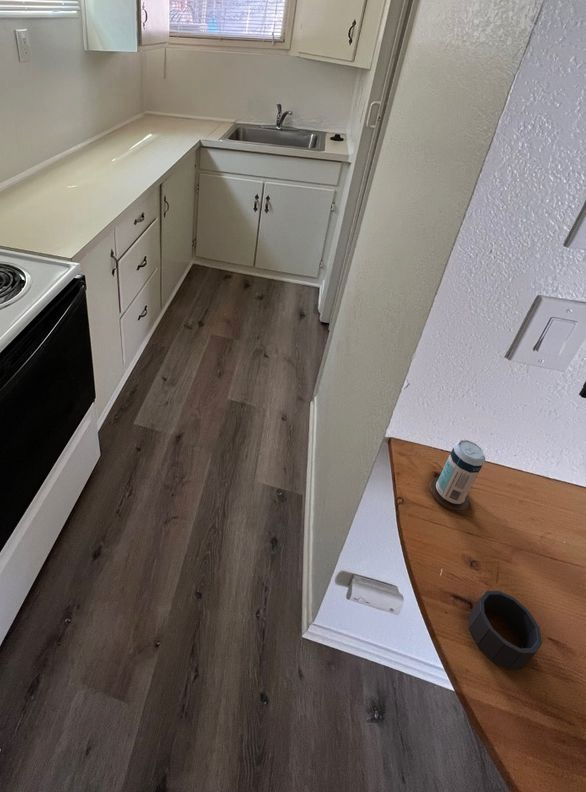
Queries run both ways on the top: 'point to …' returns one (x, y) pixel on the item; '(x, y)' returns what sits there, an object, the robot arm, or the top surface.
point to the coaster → (444, 502)
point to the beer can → (460, 471)
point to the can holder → (515, 618)
